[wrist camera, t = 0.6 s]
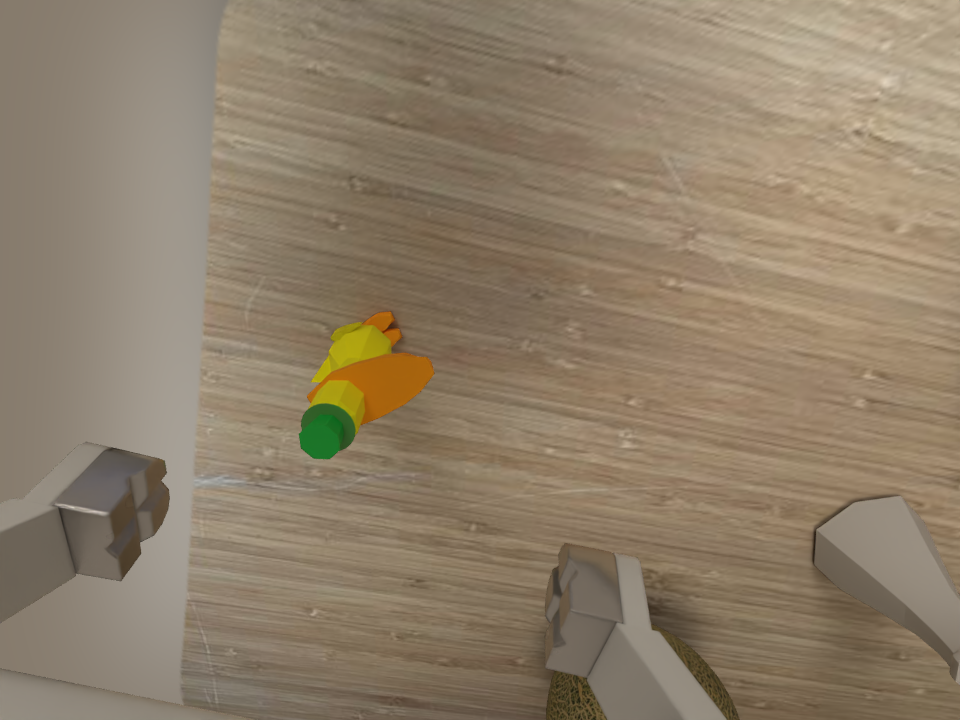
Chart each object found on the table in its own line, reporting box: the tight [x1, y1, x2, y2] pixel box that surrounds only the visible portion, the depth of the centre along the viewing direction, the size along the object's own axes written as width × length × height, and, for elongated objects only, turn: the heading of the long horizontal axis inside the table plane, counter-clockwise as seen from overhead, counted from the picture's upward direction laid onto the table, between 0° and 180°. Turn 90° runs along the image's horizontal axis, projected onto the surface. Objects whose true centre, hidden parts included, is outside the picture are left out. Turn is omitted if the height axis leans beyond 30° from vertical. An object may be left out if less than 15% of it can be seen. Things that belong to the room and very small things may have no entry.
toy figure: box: [299, 311, 435, 459], centre depth 28 cm, size 7×4×12 cm, turn 112°
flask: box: [814, 496, 960, 685], centre depth 35 cm, size 7×7×10 cm
